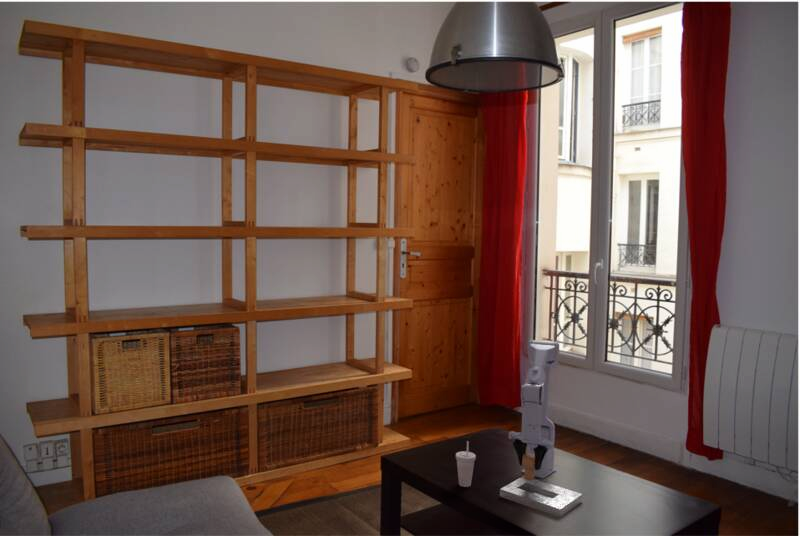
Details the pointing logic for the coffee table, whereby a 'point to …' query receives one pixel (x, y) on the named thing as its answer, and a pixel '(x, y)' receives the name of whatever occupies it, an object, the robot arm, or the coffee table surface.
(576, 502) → the keyhole plate
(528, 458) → the peg
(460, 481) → the smoothie
